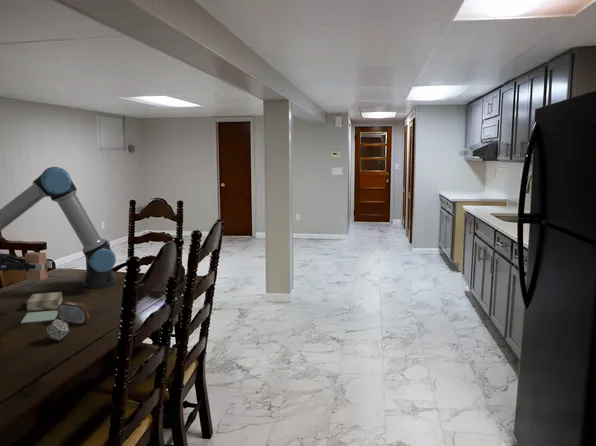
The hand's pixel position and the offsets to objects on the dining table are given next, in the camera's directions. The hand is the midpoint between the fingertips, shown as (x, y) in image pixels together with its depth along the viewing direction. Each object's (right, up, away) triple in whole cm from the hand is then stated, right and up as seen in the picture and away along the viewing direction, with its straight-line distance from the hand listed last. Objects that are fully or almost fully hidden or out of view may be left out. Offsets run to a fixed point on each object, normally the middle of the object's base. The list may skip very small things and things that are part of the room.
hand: (46, 265), depth 200 cm
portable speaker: (+16, -22, -9) cm, 29 cm away
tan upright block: (-5, -6, +2) cm, 8 cm away
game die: (+19, -25, -27) cm, 41 cm away
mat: (-1, -21, -3) cm, 21 cm away
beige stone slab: (-7, -19, +11) cm, 23 cm away
